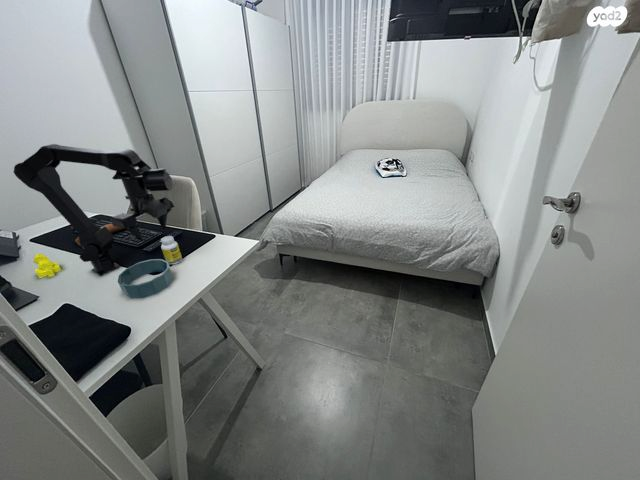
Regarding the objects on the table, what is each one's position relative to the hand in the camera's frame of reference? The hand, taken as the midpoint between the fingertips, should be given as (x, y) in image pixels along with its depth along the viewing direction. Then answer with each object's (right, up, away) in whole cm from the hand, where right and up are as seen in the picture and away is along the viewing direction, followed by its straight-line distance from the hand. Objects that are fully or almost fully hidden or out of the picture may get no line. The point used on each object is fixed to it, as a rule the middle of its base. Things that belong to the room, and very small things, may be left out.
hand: (153, 234), depth 90 cm
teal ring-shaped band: (+1, -16, -4) cm, 17 cm away
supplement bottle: (+3, -10, +8) cm, 13 cm away
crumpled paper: (-39, -14, +3) cm, 41 cm away
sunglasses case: (-40, 0, +27) cm, 48 cm away
